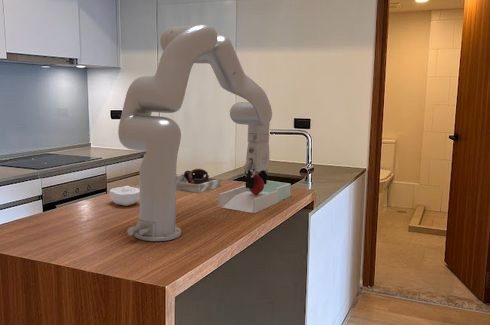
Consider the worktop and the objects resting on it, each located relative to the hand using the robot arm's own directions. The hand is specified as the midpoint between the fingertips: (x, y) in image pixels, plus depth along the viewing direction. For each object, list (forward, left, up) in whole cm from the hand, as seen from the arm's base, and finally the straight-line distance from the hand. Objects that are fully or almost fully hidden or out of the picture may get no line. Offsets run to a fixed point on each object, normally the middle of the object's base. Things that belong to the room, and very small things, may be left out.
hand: (256, 185), depth 165 cm
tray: (+10, 0, -6) cm, 12 cm away
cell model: (-30, +34, -6) cm, 46 cm away
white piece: (-5, 0, -7) cm, 8 cm away
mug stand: (+8, +34, -6) cm, 35 cm away
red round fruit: (0, 0, -4) cm, 4 cm away
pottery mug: (+11, +33, -6) cm, 35 cm away
